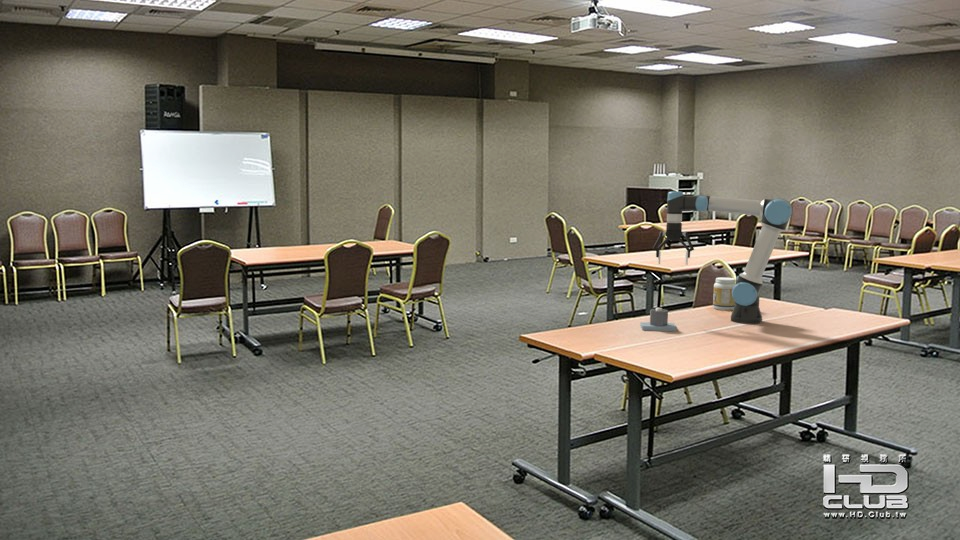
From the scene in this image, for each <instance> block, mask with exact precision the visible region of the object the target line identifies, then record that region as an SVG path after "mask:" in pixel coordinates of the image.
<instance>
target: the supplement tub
mask: <svg viewBox="0 0 960 540" xmlns="http://www.w3.org/2000/svg"><path fill="white" fill-rule="evenodd" d="M735 284H736V278H733V277H727V276H726V277H721V276H720V277H719V276H718V277H716V278H715V282H714V284H713V296H712V297H713V298H712V299H713V300H712V307H713V309H714V310H719V311H733V309H734V307H735V301H734V299H733V297H732V289H733V287H734V286H735Z"/></svg>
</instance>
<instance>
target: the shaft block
mask: <svg viewBox="0 0 960 540" xmlns="http://www.w3.org/2000/svg"><path fill="white" fill-rule="evenodd" d="M655 309H656V311H662V309H663V307H656V308H655ZM640 328H641V330H642V331H651V332H652V331H657V332H658V331H659V332H662V331H663V332H677V331H678V330H677V325H676V324H675V323H674V322H668V325H667V326H653V325H650V321H649V322H647V321H646V322H645V321H644V322H643V321H640Z"/></svg>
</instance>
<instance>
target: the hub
mask: <svg viewBox="0 0 960 540" xmlns="http://www.w3.org/2000/svg"><path fill="white" fill-rule="evenodd" d="M668 318H669V310H668V309H663V308H662V311H656V308H652V309H650V311H649V322H650V325H653V326H667V325H668V323H669V321H668V320H669V319H668Z"/></svg>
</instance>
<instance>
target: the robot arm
mask: <svg viewBox="0 0 960 540" xmlns="http://www.w3.org/2000/svg"><path fill="white" fill-rule="evenodd" d="M666 201H667V202H666V225H665V226H666V227H665V232H664V231H659V236H658V237H657V240H656V241H655V243H654V244H653V247H652V250H653V251H656V253H655V257H656V258H658V259H657V265H661V253H662V252H661V249H662V248H663V247H664V246H665V245H666V243H667V242H669V241H670V242H671V241H672V242H673V241H675V242H677V241H678V242H680V243H681V245H682V246H683V247H684V248H685V250H686V251H685V261H684V263H685V265H688V264H689V263H688V259H691V252H692V251H695V247H694V246H693V243H692V242H691V239H690V238H689V232H688V231H684V232H683V231H682V227H683V223H682V222H683V211H685V212H688V211H690V212H692V211H693V212H706V211H708V212H716V213H717V212H718V213H725V214H726V213H727V214H738V215H739V214H740V215H747V216H758V217H760V218H761V220H760V224H761V228H760V232H759V234H758V235H757V239H756V241H755V243H754V246H753V249H752V251H751V253H750V256H749V258H748V262H747V263H746V266H745V268H744V270H743V272H741V273H739V275H737V276H736V278H735V286H734V287H733V289H732V297H733V299H734V301H735V307H734V309H733V310H732V312H731V315H730V321H731V322H735V323H739V324H760V322H761V323H762V322H763V316H762V313H761V312H762V311H761V310H760V293H761V291H760V290H761V288H762V286H763V280H762V277H763V275H764V272H765V270H766V267H767V265H768V263H769V260H770V258H771V256H772V254H773V251H774V249H775V246H776V244H777V241H778V238H779V236H780V233H782V232H784V231H785V230H786V228H787V225H788V223H789V221H790V218H791V216H792V214H793V210H794V209H793V206H792V204H791V202H790V201H789V200H787V199H785V198H772V199H769V198H763V199H762V200H757V199H746V198H734V197H726V196H725V197H723V196H714V195H713V196H712V195H704V194H697V195H684V193H683V191H669V192H667V200H666ZM664 236H666V237H665V239H663V241H662V242H661V240H662V238H663V237H664ZM682 236H684V237H685V240H686V241H687V244H688V245H687V244H686V243H685V242H684V240H683V239H682V238H681V237H682ZM660 242H661V243H660ZM659 243H660V244H659ZM688 246H689V247H688Z"/></svg>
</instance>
